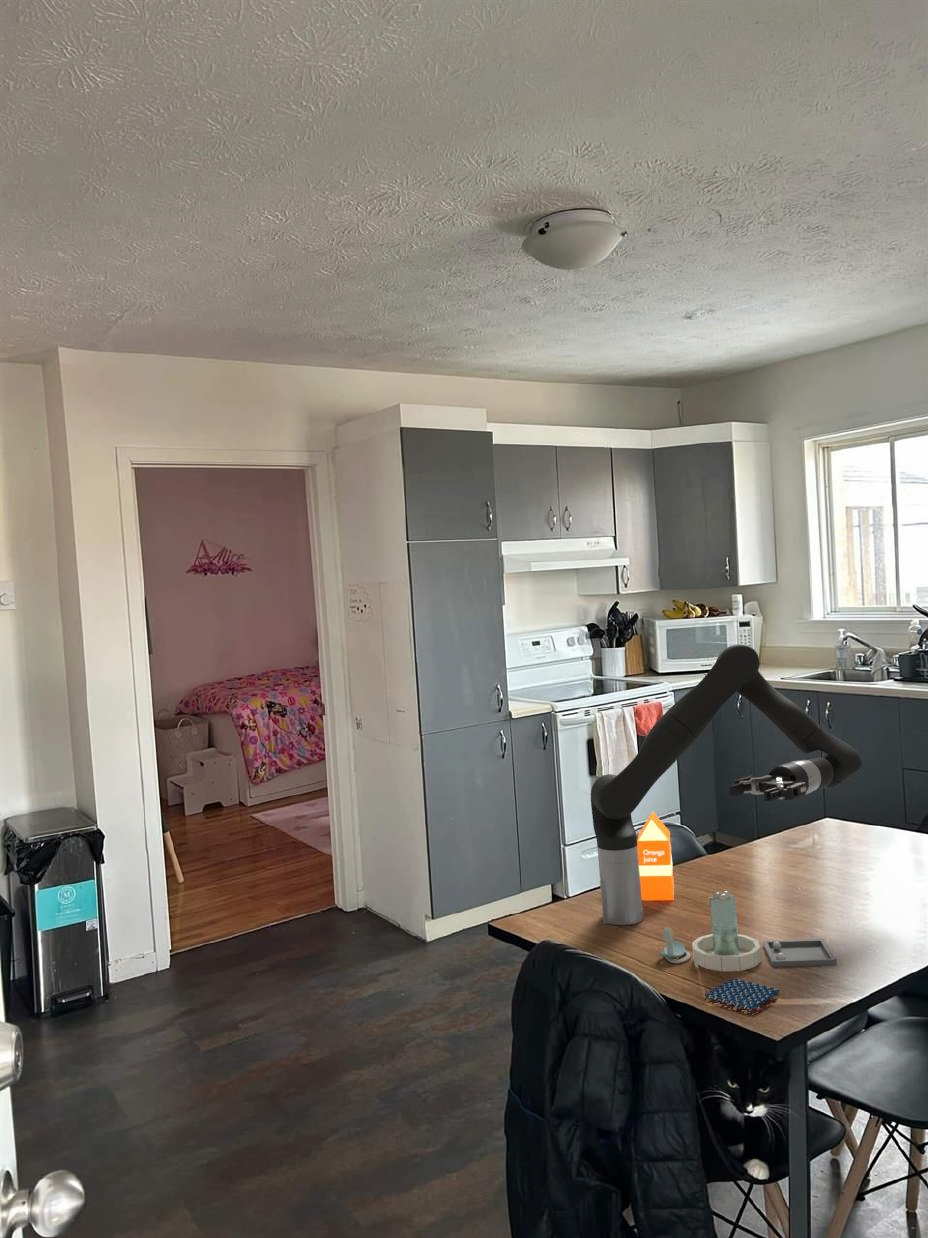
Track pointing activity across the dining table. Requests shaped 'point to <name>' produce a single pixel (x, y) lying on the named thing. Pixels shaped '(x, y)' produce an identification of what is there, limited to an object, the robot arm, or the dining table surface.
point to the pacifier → (673, 948)
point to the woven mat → (743, 996)
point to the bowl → (709, 960)
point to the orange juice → (655, 860)
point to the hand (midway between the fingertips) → (748, 794)
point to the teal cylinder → (724, 924)
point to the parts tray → (799, 953)
